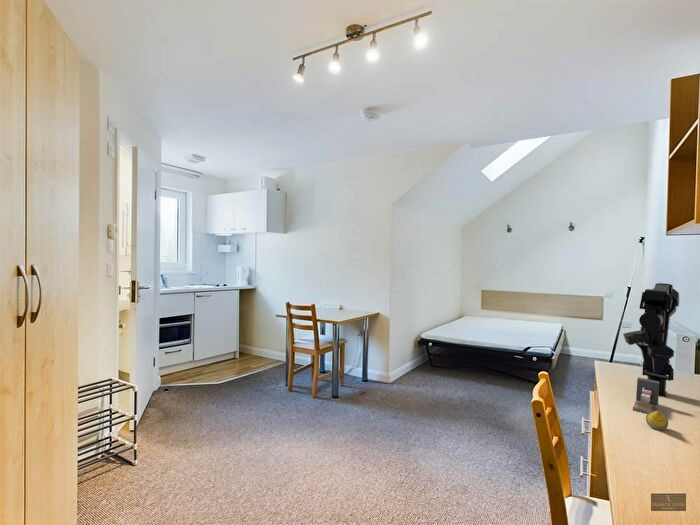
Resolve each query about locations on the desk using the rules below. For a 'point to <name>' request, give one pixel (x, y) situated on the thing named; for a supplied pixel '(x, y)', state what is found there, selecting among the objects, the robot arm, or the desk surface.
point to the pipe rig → (645, 402)
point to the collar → (649, 385)
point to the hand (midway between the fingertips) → (651, 368)
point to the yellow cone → (657, 420)
